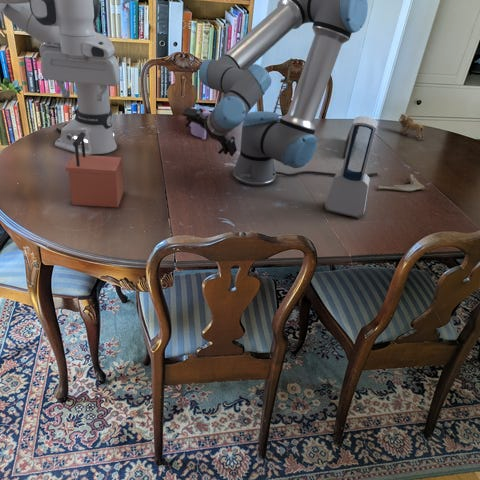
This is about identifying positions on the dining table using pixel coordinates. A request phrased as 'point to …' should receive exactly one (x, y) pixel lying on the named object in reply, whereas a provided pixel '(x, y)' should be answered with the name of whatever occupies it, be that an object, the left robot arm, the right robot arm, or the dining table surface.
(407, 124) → the lion figurine
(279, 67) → the miniature windmill
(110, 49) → the left robot arm
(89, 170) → the lid
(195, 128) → the clip
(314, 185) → the dining table surface
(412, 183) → the jawbone
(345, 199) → the electronic device
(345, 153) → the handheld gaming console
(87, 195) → the chest
